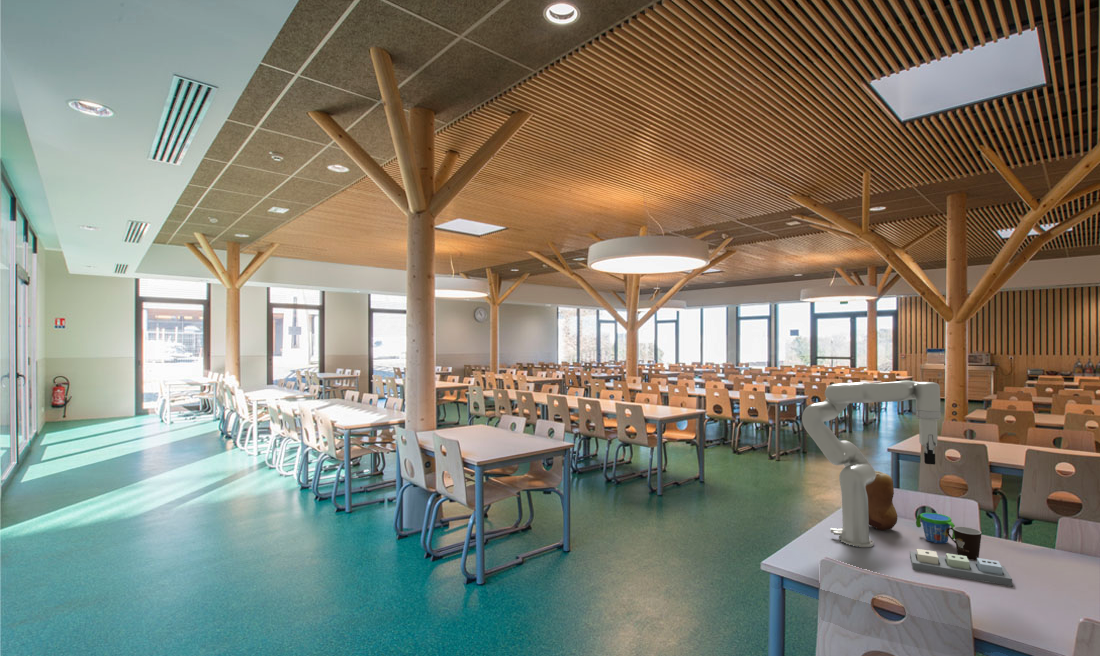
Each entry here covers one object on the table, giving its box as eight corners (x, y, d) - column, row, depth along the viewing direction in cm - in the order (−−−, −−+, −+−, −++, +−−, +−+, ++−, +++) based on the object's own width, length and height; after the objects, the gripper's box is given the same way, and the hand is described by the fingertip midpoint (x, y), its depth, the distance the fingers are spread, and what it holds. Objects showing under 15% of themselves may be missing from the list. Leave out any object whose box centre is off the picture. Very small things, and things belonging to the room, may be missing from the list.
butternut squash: (900, 528, 235) (899, 471, 236) (894, 536, 226) (892, 477, 226) (865, 521, 245) (864, 466, 246) (857, 528, 235) (856, 472, 236)
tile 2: (980, 575, 186) (980, 563, 186) (977, 568, 191) (976, 557, 192) (1002, 579, 183) (1002, 566, 183) (998, 572, 188) (998, 560, 189)
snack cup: (909, 535, 227) (908, 511, 227) (929, 533, 229) (928, 509, 229) (943, 549, 211) (942, 523, 212) (965, 546, 214) (964, 521, 214)
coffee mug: (987, 561, 199) (986, 535, 200) (961, 560, 201) (960, 533, 201) (969, 549, 211) (968, 524, 211) (945, 548, 212) (944, 523, 213)
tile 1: (918, 565, 195) (918, 553, 195) (916, 559, 200) (916, 548, 201) (938, 568, 192) (938, 556, 192) (936, 562, 197) (936, 551, 198)
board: (912, 569, 194) (912, 562, 194) (909, 557, 204) (909, 551, 204) (1012, 586, 180) (1012, 578, 180) (1003, 572, 190) (1003, 565, 190)
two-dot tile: (948, 570, 191) (948, 558, 191) (946, 564, 196) (946, 552, 196) (969, 573, 188) (969, 561, 188) (966, 567, 193) (966, 555, 193)
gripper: (914, 412, 209) (915, 458, 208) (918, 416, 196) (919, 466, 195) (937, 413, 205) (939, 460, 204) (943, 418, 192) (945, 469, 191)
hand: (929, 463), depth 200 cm, fingers closed
